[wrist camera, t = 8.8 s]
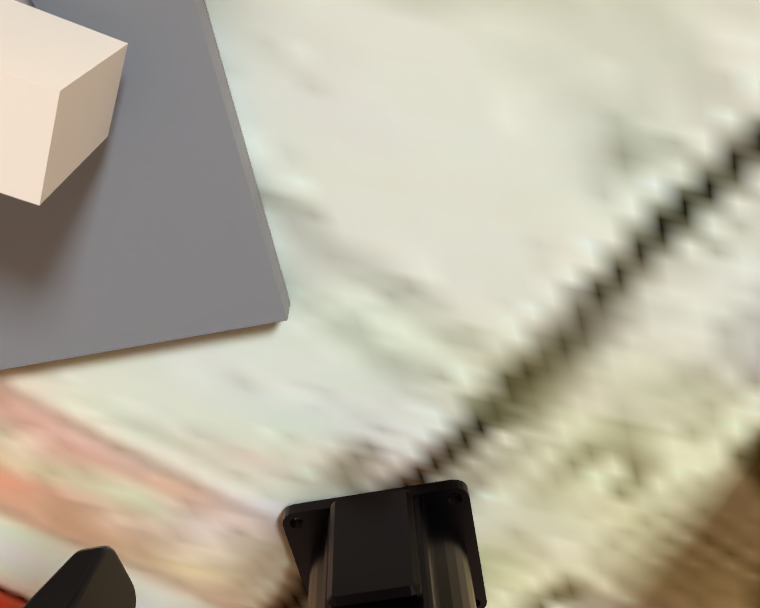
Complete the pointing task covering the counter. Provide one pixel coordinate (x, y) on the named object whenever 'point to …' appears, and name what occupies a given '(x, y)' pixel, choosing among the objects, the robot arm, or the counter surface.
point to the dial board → (143, 207)
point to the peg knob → (51, 97)
